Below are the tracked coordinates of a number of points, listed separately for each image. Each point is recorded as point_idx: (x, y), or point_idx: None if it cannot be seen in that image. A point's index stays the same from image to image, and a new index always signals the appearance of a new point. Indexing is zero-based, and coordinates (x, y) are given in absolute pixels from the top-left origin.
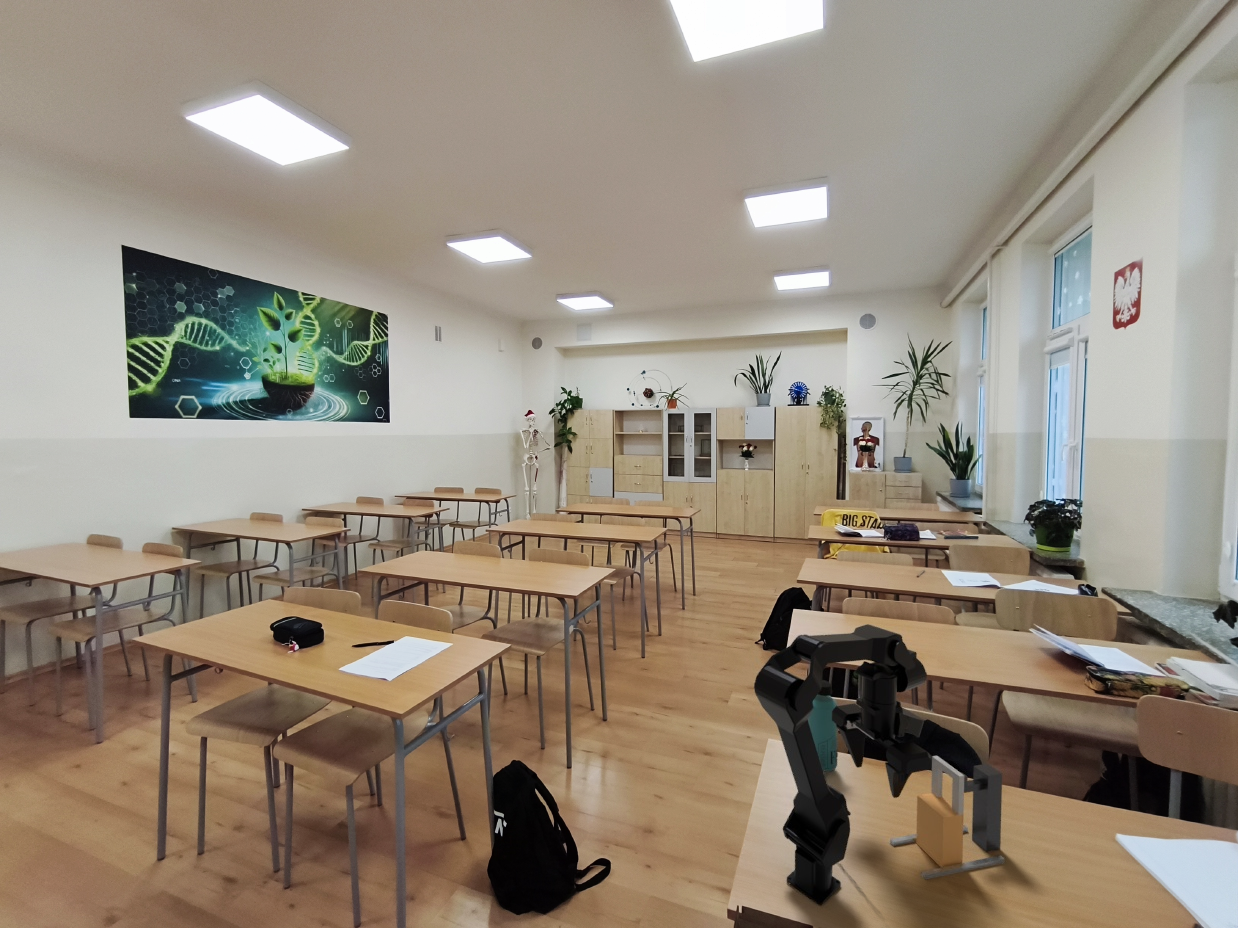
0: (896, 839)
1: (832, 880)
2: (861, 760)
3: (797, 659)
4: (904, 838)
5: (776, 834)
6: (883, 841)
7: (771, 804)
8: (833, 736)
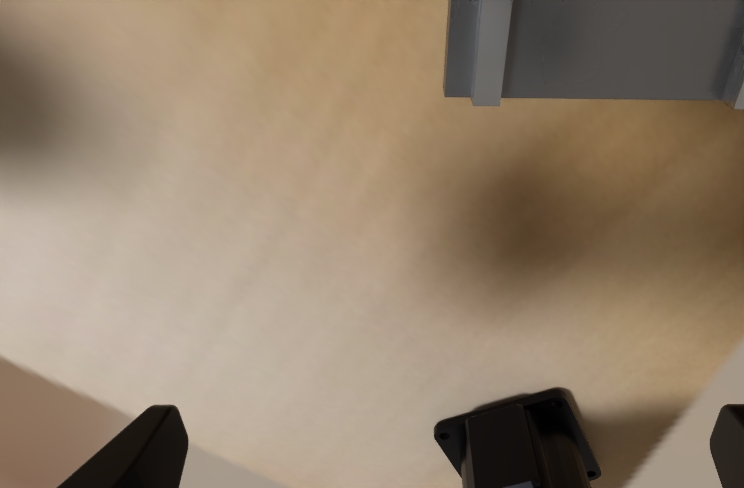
0: (487, 70)
1: (544, 413)
2: (147, 466)
3: None
4: (498, 13)
5: (284, 439)
6: (413, 85)
7: (118, 391)
8: None
